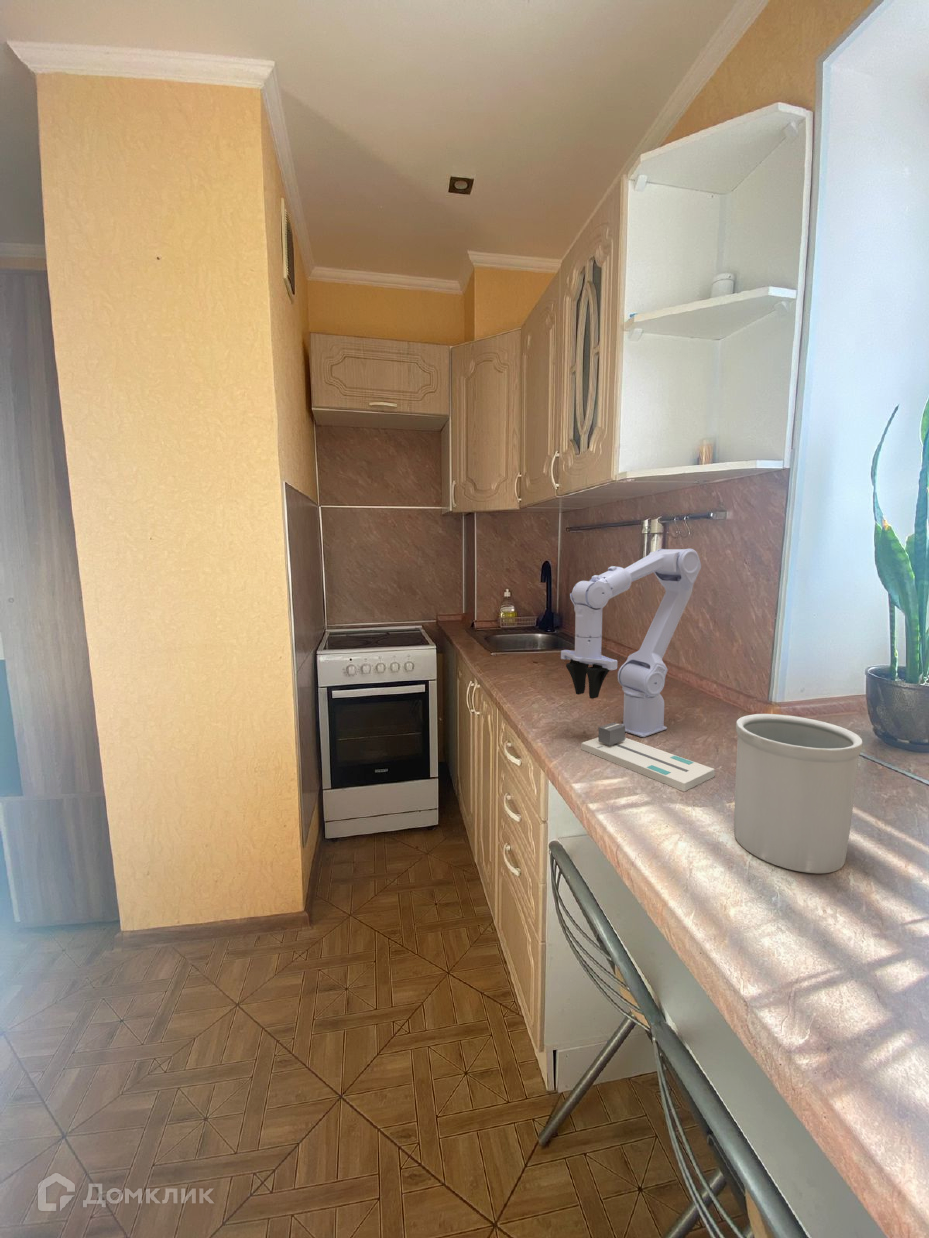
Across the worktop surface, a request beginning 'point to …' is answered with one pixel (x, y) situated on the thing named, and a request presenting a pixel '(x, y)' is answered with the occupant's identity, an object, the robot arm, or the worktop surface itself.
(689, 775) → the mixer panel
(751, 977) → the worktop surface
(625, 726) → the robot arm
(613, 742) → the fader
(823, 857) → the utensil holder
